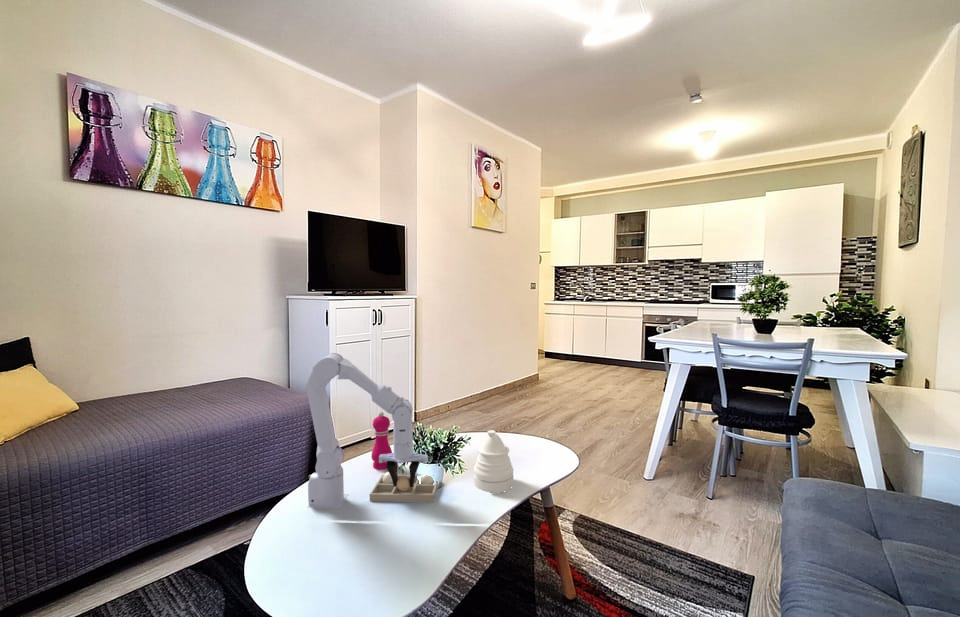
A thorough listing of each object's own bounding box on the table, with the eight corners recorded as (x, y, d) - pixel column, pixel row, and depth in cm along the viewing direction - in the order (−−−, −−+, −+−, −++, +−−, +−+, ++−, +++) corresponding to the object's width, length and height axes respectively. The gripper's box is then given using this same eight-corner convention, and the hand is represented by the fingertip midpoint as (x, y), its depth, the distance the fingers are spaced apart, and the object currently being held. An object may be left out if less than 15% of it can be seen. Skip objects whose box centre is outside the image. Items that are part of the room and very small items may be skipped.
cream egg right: (419, 489, 130) (419, 475, 130) (422, 483, 135) (421, 469, 134) (433, 490, 130) (433, 476, 130) (435, 483, 134) (435, 470, 134)
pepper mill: (383, 461, 153) (382, 407, 152) (396, 466, 149) (395, 411, 148) (367, 468, 148) (366, 412, 147) (381, 473, 143) (380, 416, 142)
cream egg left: (380, 488, 131) (380, 475, 131) (384, 482, 135) (384, 469, 135) (394, 489, 131) (394, 475, 131) (398, 482, 135) (398, 469, 135)
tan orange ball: (394, 493, 124) (394, 479, 124) (398, 486, 129) (398, 472, 129) (409, 493, 124) (409, 479, 124) (412, 486, 128) (412, 472, 128)
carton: (369, 502, 124) (369, 494, 124) (382, 482, 137) (382, 474, 137) (433, 504, 123) (432, 495, 123) (439, 483, 136) (439, 475, 135)
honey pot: (507, 496, 127) (507, 438, 126) (468, 490, 131) (467, 434, 130) (517, 478, 139) (517, 425, 138) (481, 473, 143) (480, 421, 142)
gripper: (375, 446, 122) (376, 491, 123) (424, 446, 121) (425, 492, 122) (382, 437, 129) (383, 480, 130) (428, 438, 128) (429, 481, 129)
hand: (403, 485), depth 126 cm, fingers closed on tan orange ball, 4 cm apart
